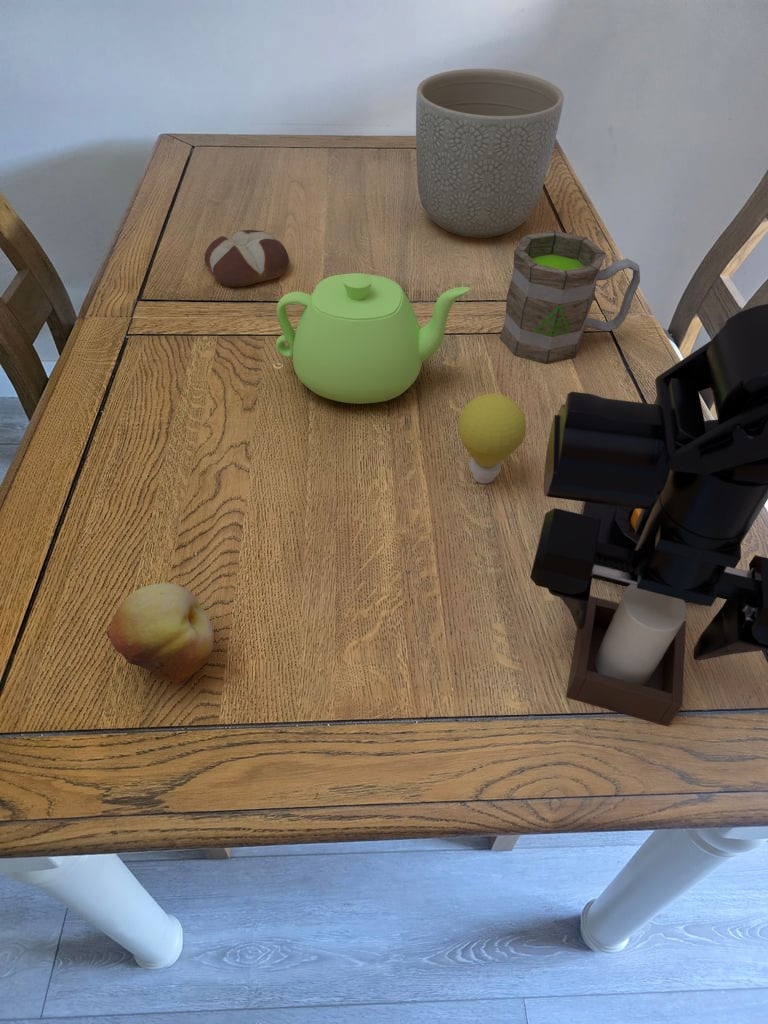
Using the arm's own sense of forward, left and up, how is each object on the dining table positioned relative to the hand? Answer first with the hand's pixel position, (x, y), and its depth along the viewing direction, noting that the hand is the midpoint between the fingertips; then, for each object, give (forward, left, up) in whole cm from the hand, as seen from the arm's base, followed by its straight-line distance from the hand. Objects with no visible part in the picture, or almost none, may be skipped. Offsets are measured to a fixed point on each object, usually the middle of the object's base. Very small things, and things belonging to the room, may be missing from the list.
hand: (636, 639), depth 56 cm
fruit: (+36, +11, -5) cm, 38 cm away
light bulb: (+16, -19, -5) cm, 25 cm away
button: (0, -14, -1) cm, 14 cm away
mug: (+12, -47, -5) cm, 49 cm away
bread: (+58, -50, -5) cm, 77 cm away
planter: (+30, -76, -5) cm, 82 cm away
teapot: (+33, -31, -5) cm, 46 cm away
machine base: (0, -14, -5) cm, 15 cm away
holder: (0, 0, -5) cm, 5 cm away
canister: (0, 0, -4) cm, 4 cm away
